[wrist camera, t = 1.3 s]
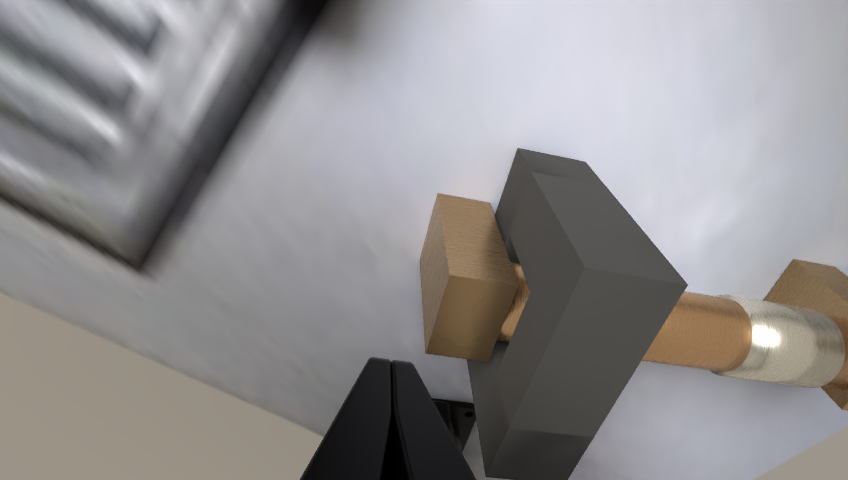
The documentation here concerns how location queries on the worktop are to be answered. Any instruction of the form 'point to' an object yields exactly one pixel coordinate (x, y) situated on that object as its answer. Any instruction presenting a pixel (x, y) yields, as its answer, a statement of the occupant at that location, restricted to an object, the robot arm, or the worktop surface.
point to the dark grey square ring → (566, 318)
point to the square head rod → (680, 334)
